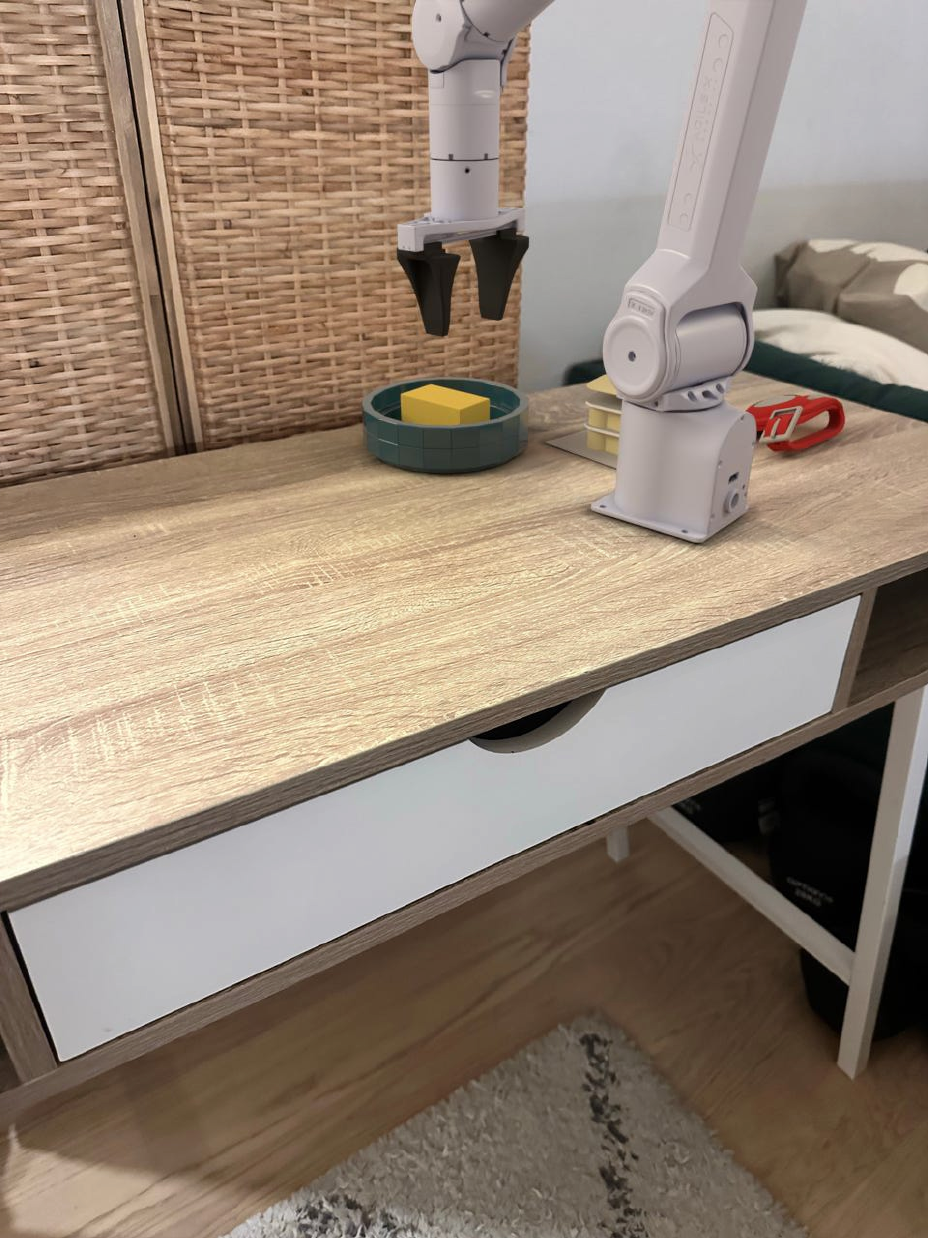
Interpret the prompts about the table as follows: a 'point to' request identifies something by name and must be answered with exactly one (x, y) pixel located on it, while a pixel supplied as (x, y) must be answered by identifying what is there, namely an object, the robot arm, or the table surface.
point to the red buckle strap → (795, 419)
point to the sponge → (443, 406)
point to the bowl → (446, 429)
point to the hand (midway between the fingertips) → (465, 326)
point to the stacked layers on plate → (597, 426)
